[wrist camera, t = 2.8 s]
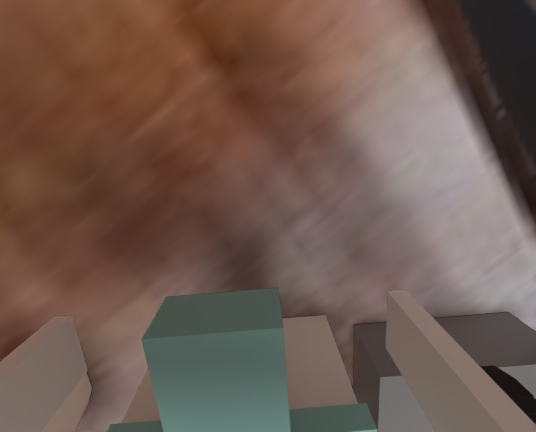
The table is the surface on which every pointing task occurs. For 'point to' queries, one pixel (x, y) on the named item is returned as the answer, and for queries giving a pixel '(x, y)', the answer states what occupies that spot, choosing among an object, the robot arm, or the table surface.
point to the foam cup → (71, 408)
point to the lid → (229, 370)
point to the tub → (297, 368)
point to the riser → (466, 335)
